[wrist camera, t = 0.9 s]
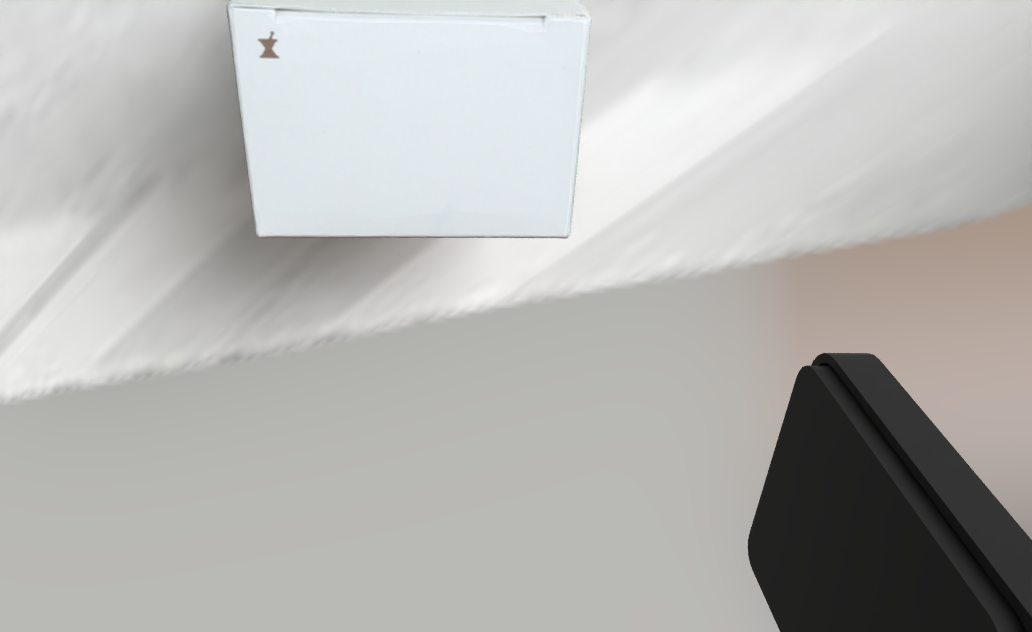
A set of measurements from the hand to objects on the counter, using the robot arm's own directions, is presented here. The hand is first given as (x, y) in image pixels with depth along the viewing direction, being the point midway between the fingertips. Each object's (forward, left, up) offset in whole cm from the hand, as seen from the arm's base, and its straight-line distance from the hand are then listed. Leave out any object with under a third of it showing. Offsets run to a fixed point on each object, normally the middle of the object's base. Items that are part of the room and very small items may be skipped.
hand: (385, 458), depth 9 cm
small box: (0, 0, -22) cm, 22 cm away
